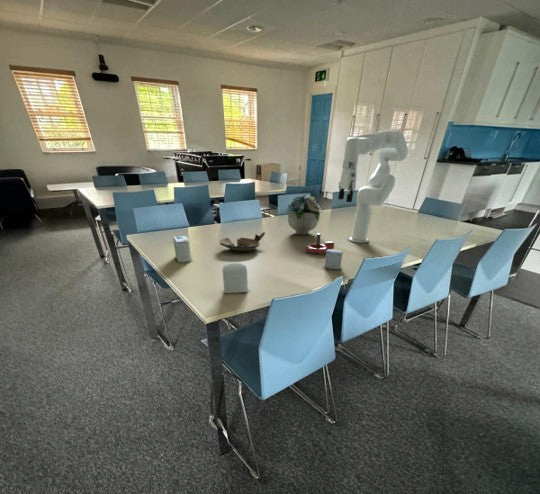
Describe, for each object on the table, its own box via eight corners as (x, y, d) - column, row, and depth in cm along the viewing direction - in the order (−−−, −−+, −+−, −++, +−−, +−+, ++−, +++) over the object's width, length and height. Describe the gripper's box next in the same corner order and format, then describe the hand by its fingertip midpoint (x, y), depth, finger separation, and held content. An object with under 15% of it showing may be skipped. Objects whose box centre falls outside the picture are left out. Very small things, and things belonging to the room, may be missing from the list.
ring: (311, 253, 178) (312, 246, 175) (304, 247, 187) (304, 240, 185) (337, 251, 182) (338, 244, 179) (328, 246, 191) (329, 239, 189)
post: (310, 248, 190) (312, 231, 184) (326, 250, 187) (329, 232, 181) (306, 253, 182) (308, 234, 176) (323, 255, 179) (325, 236, 173)
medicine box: (340, 267, 162) (343, 250, 157) (339, 270, 159) (341, 253, 154) (325, 265, 164) (327, 248, 159) (324, 268, 161) (326, 251, 156)
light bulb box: (175, 256, 171) (172, 236, 164) (187, 255, 173) (185, 235, 167) (178, 262, 163) (175, 241, 156) (191, 261, 165) (189, 240, 159)
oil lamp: (215, 246, 189) (214, 233, 184) (262, 243, 198) (262, 230, 193) (224, 257, 172) (223, 243, 167) (274, 253, 181) (275, 239, 176)
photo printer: (224, 294, 131) (222, 265, 124) (223, 290, 134) (221, 262, 127) (248, 293, 133) (247, 264, 125) (247, 289, 136) (246, 261, 129)
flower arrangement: (321, 238, 211) (326, 198, 196) (285, 237, 211) (287, 197, 196) (317, 229, 231) (321, 192, 217) (284, 228, 231) (286, 191, 217)
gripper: (364, 166, 162) (358, 202, 172) (348, 164, 176) (343, 198, 186) (351, 166, 161) (346, 203, 171) (336, 164, 174) (332, 198, 184)
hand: (344, 200), depth 178 cm, fingers open, 9 cm apart
